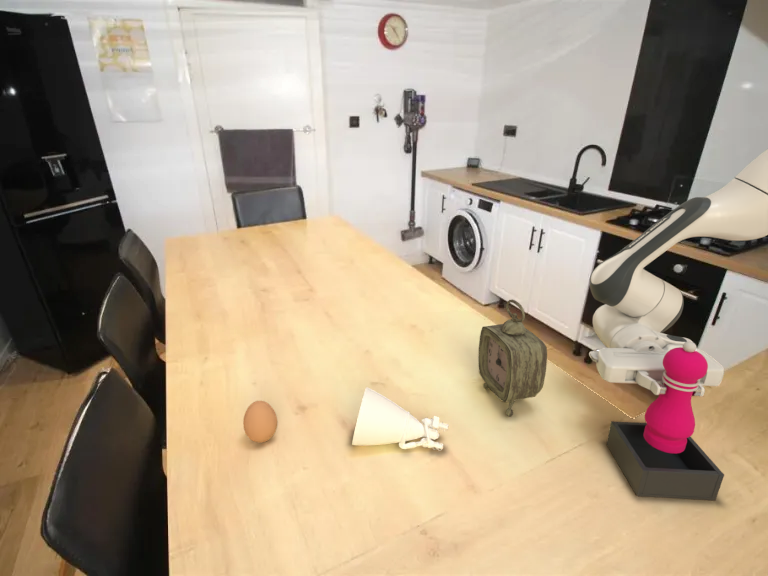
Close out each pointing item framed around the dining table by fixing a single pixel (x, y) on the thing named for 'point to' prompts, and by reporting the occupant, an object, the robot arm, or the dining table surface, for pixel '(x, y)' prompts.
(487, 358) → the tabletop clock
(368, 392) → the rocket engine
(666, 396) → the pepper mill
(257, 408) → the egg
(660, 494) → the bin
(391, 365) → the dining table surface
